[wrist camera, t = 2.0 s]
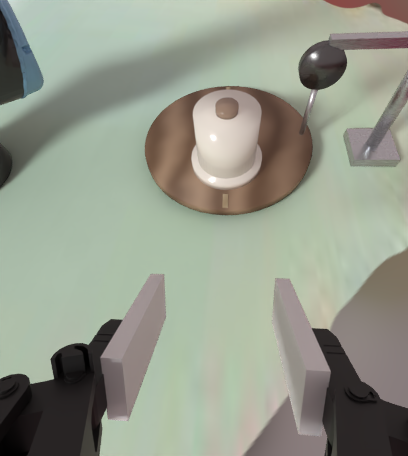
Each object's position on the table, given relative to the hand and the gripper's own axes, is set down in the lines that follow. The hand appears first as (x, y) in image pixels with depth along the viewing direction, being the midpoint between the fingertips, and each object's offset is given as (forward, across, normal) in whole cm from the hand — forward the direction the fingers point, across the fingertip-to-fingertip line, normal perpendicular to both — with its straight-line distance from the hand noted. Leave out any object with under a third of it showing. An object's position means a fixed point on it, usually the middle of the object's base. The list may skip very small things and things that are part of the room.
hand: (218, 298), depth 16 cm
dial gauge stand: (+39, +18, +7) cm, 43 cm away
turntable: (+39, 0, +7) cm, 39 cm away
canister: (+33, 0, +5) cm, 34 cm away
